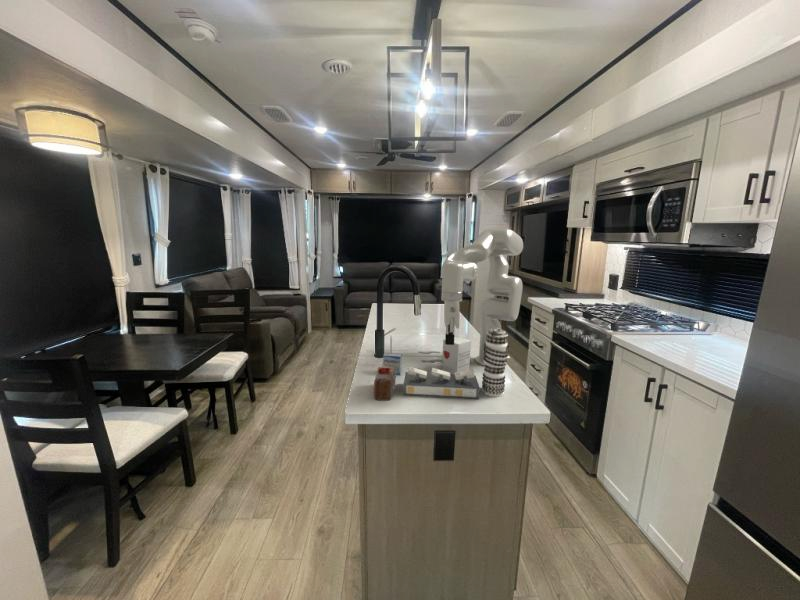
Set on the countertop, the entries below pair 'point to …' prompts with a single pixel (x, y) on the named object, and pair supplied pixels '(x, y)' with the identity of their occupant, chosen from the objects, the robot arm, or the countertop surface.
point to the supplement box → (456, 355)
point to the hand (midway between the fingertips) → (449, 344)
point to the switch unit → (441, 386)
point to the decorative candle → (494, 362)
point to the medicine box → (393, 362)
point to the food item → (384, 383)
